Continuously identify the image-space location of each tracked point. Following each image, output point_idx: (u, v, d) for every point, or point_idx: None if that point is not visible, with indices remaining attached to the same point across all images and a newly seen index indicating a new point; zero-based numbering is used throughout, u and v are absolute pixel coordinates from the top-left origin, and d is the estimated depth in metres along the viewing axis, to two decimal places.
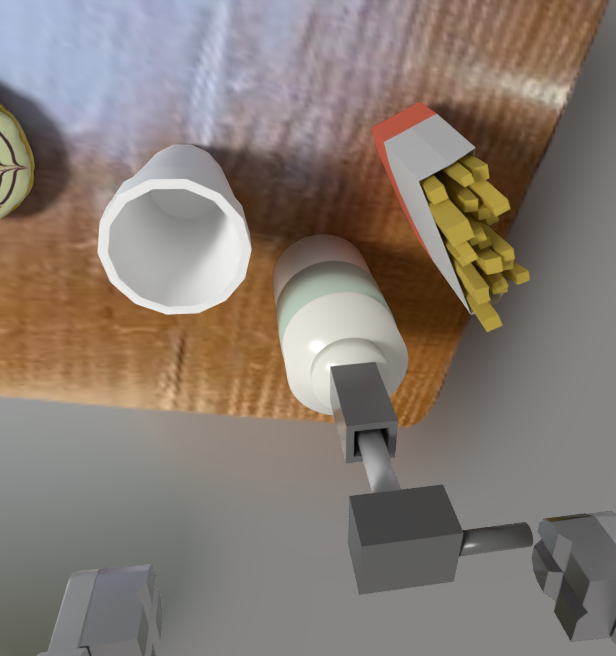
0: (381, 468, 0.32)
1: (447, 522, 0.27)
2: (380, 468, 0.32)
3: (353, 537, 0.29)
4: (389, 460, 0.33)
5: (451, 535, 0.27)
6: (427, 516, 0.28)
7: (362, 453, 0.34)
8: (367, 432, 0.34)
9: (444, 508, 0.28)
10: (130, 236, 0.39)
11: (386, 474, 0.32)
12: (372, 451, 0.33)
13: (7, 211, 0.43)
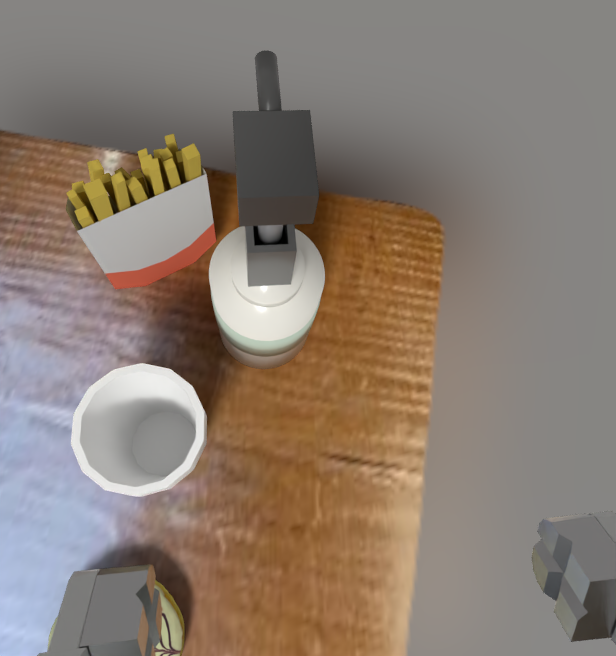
0: None
1: None
2: None
3: (271, 214, 0.29)
4: None
5: (234, 121, 0.29)
6: None
7: (269, 233, 0.35)
8: (258, 234, 0.36)
9: None
10: (160, 479, 0.44)
11: None
12: None
13: (168, 603, 0.46)
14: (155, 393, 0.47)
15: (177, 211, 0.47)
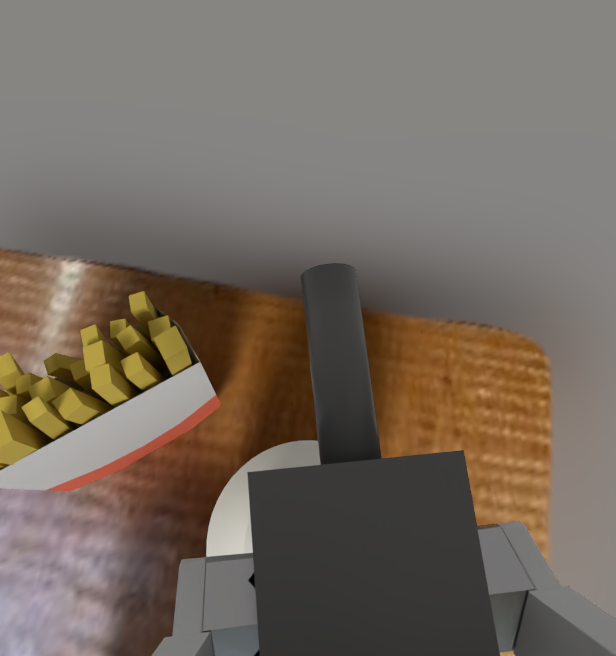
0: None
1: None
2: None
3: None
4: None
5: (253, 506, 0.10)
6: None
7: None
8: None
9: None
10: None
11: None
12: None
13: None
14: None
15: (155, 407, 0.29)
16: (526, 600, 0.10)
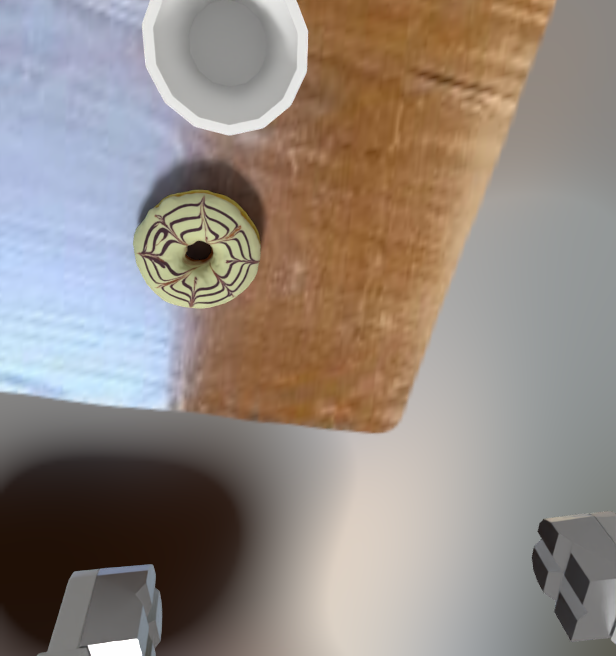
0: None
1: None
2: None
3: None
4: None
5: None
6: None
7: None
8: None
9: None
10: (243, 105, 0.38)
11: None
12: None
13: (245, 221, 0.47)
14: None
15: None
16: None
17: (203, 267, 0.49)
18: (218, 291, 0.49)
